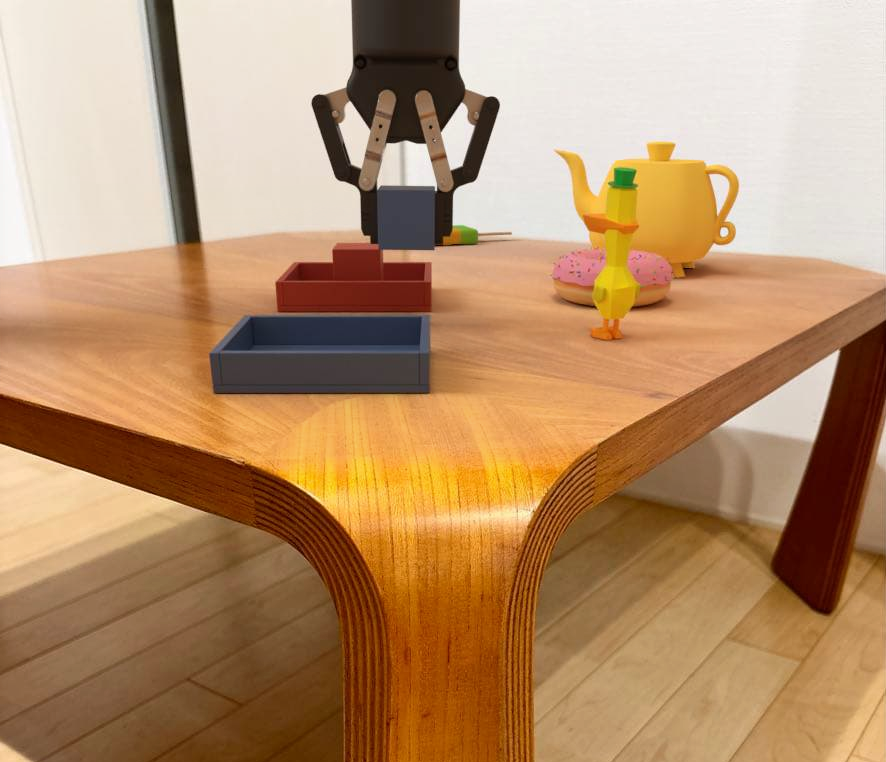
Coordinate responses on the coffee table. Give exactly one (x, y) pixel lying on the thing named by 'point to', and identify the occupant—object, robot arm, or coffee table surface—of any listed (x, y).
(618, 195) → the toy figure
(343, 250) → the red block
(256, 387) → the blue tray
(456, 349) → the coffee table surface
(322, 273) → the red tray
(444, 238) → the popsicle
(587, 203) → the teapot
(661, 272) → the doughnut
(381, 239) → the blue block
